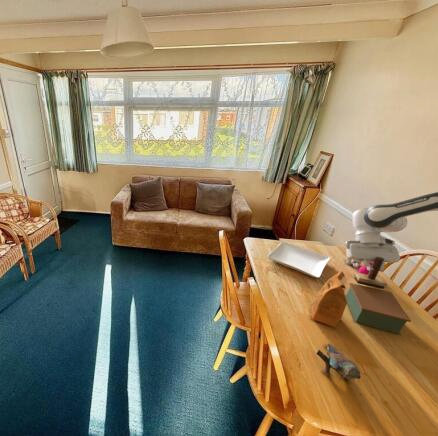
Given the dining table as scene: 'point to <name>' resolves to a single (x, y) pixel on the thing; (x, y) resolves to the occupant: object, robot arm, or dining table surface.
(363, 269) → the pepper mill
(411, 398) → the dining table surface
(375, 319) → the cabinet
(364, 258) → the robot arm
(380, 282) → the brush
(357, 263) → the round bodied animal figurine
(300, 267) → the square plate
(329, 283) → the coffee package
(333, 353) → the bird figurine
